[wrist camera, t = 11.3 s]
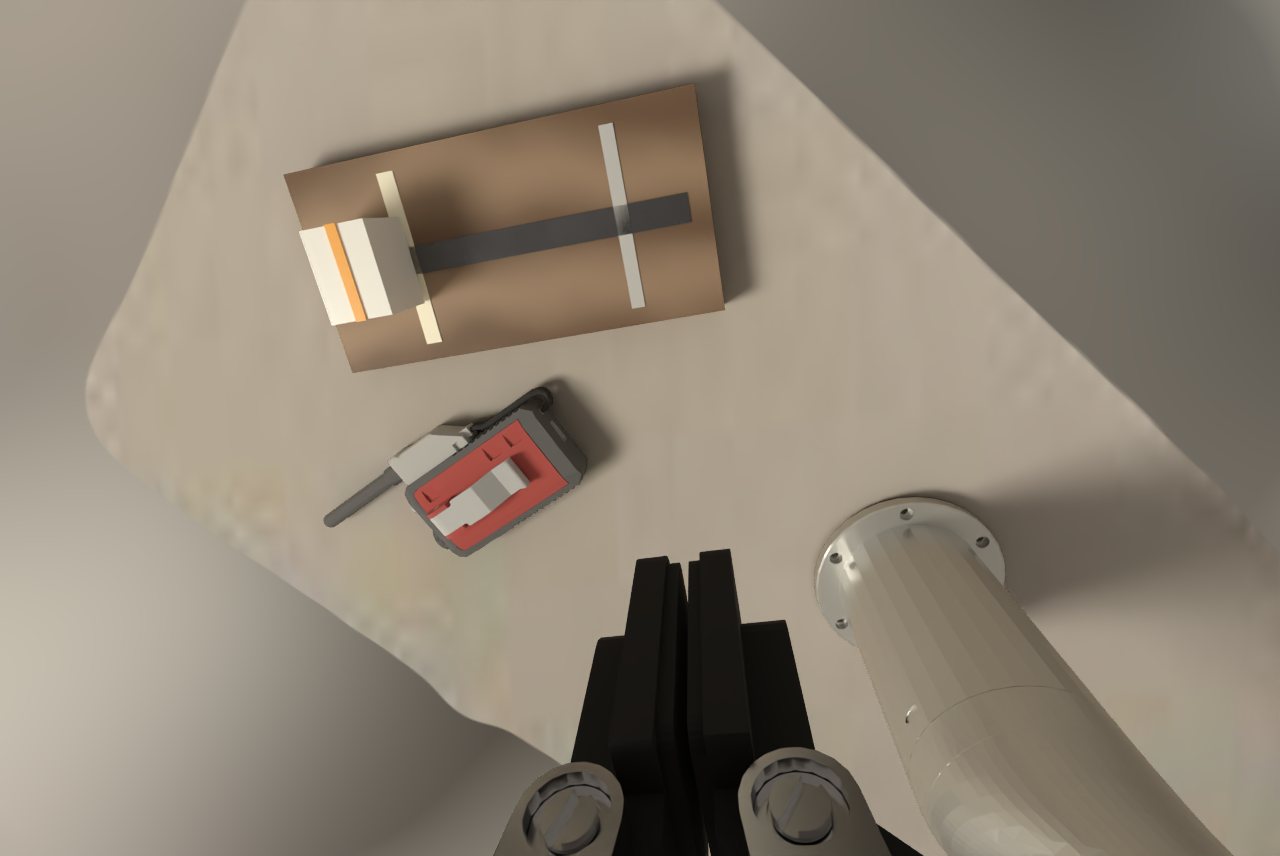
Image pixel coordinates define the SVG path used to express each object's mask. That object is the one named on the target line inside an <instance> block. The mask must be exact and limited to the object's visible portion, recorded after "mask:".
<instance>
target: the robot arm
mask: <svg viewBox="0 0 1280 856" xmlns="http://www.w3.org/2000/svg"><path fill="white" fill-rule="evenodd" d="M904 509H905V510H904ZM902 510H904V511H902ZM834 553H835V554H834ZM1005 576H1006V571H1005V562H1004V557H1003V554H1002V552H1001V549H1000V546H999V544H998V543H997V541H996V540H995V538H994V536H993V535H992V533H991V532H990V531H989V530H988V529H987V528H986V527H985V526H984V524H983V523H982V522H981V521H980V520H979V519H977V518H976V517H975V516H973V515H972V514H971V513H969V512H968V511H967V510H965V509H962V508H960V507H958V506H956V505H954V504H952V503H949V502H945V501H941V500H938V499H934V498H922V497H909V498H897V499H893V500H889V501H885V502H881V503H878V504H875V505H873V506H871V507H868V508H866V509H864V510H862V511H860V512H858V513H857V514H855V515H854V516H852V517H851V518H849V519H847V520H846V521H845V522H844V523H843V524H842V525H841V526H840V527H839V528H838V529H836V530H835V531H834V533H833V534H832V535H831V537H830V538H829V539H828V541H827V542H826V543H825V545H824V547H823V549H822V551H821V553H820V555H819V557H818V560H817V564H816V568H815V573H814V588H815V592H816V597H817V601H818V604H819V606H820V609H821V612H822V614H823V616H824V618H825V619H826V621H827V622H828V624H829V626H830V627H831V628H832V629H833V630H834V631H835V632H836V633H837V634H838V635H839V636H840V637H841V638H843V639H844V640H846V641H847V642H848V643H850V644H851V645H853V646H855V647H857V648H859V651H860V653H861V656H862V659H863V661H864V664H865V667H866V669H867V672H868V674H869V677H870V680H871V682H872V685H873V688H874V690H875V693H876V696H877V698H878V701H879V704H880V706H881V709H882V712H883V714H884V717H885V719H886V722H887V725H888V727H889V730H890V733H891V735H892V738H893V741H894V743H895V746H896V749H897V751H898V754H899V757H900V759H901V762H902V765H903V767H904V770H905V772H906V775H907V778H908V780H909V783H910V786H911V788H912V790H913V793H914V796H915V798H916V801H917V803H918V806H919V809H920V811H921V813H922V815H923V818H924V820H925V822H926V824H927V826H928V828H929V830H930V831H931V833H932V834H933V836H934V837H935V839H936V841H937V842H938V844H939V845H940V846H941V847H942V849H943V850H944V851H945V852H946V853H947V855H948V856H1233V855H1232V853H1231V852H1230V851H1229V850H1228V849H1227V848H1226V847H1225V846H1224V845H1223V844H1222V843H1221V842H1220V841H1219V840H1218V839H1217V838H1216V837H1215V836H1214V835H1213V834H1212V833H1211V832H1210V831H1209V830H1208V829H1207V828H1206V827H1205V826H1204V824H1203V823H1202V822H1201V821H1200V820H1199V819H1198V818H1197V817H1196V816H1195V814H1194V813H1193V812H1192V811H1191V810H1190V809H1189V808H1188V806H1187V805H1186V804H1185V803H1184V802H1183V801H1182V800H1181V798H1180V797H1179V796H1178V795H1177V794H1176V793H1175V792H1174V791H1173V789H1172V788H1171V787H1170V786H1169V785H1168V784H1167V783H1166V781H1165V780H1164V779H1163V778H1162V777H1161V776H1160V775H1159V773H1158V772H1157V771H1156V770H1155V769H1154V768H1153V767H1152V765H1151V764H1150V763H1149V762H1148V761H1147V760H1146V758H1145V757H1144V756H1143V755H1142V754H1141V752H1140V751H1139V750H1138V749H1137V748H1136V746H1135V745H1134V744H1133V743H1132V742H1131V740H1130V739H1129V738H1128V737H1127V736H1126V734H1125V733H1124V732H1123V731H1122V730H1121V728H1120V727H1119V726H1118V725H1117V723H1116V722H1115V721H1114V720H1113V719H1112V718H1111V717H1110V715H1109V714H1108V713H1107V712H1106V710H1105V709H1104V708H1103V707H1102V705H1101V704H1100V703H1099V702H1098V700H1097V699H1096V698H1095V697H1094V696H1093V694H1092V693H1091V692H1090V691H1089V689H1088V688H1087V687H1086V686H1085V685H1084V683H1083V682H1082V681H1081V680H1080V679H1079V677H1078V676H1077V675H1076V674H1075V673H1074V671H1073V670H1072V669H1071V668H1070V667H1069V665H1068V664H1067V663H1066V662H1065V660H1064V659H1063V658H1062V657H1061V656H1060V654H1059V653H1058V652H1057V651H1056V650H1055V648H1054V647H1053V646H1052V645H1051V644H1050V642H1049V641H1048V640H1047V639H1046V637H1045V636H1044V635H1043V634H1042V633H1041V631H1040V630H1039V629H1038V628H1037V627H1036V625H1035V624H1034V623H1033V622H1032V621H1031V619H1030V618H1029V617H1028V616H1027V614H1026V613H1025V612H1024V611H1023V610H1022V608H1021V607H1020V606H1019V605H1018V604H1017V602H1016V601H1015V600H1014V599H1013V598H1012V596H1011V595H1010V594H1009V593H1008V591H1007V590H1006V589H1005V588H1004V583H1005ZM708 843H709V848H710V853H711V856H923V855H922V854H920V853H919V852H917V851H916V850H914V849H913V848H911V847H910V846H908V845H907V844H906V843H904V842H903V841H901V840H900V839H898V838H897V837H895V836H894V835H892V834H891V833H890V832H888V831H887V830H885V829H884V828H882V827H881V826H879V825H878V824H876V822H875V820H874V817H873V815H872V813H871V811H870V809H869V807H868V804H867V802H866V800H865V798H864V796H863V794H862V792H861V789H860V787H859V786H858V784H857V783H856V781H855V780H854V778H853V777H852V775H851V773H850V772H849V771H848V770H847V769H846V768H845V767H844V766H842V765H841V764H840V763H839V762H838V761H837V760H835V759H834V758H832V757H830V756H828V755H826V754H823V753H821V752H819V751H817V750H815V747H814V743H813V738H812V734H811V730H810V725H809V721H808V716H807V712H806V708H805V703H804V699H803V694H802V690H801V685H800V681H799V677H798V672H797V668H796V663H795V659H794V654H793V650H792V646H791V641H790V637H789V632H788V628H787V624H786V621H785V620H778V621H768V622H757V623H747V624H741V617H740V611H739V604H738V598H737V591H736V584H735V578H734V571H733V565H732V558H731V552H730V549H723V550H714V551H705V552H700V560H699V561H690V562H689V578H688V601H687V595H686V590H685V585H684V579H683V574H682V569H681V565H680V563H672V564H670V562H669V559H668V557H667V556H662V557H653V558H644V559H638V560H637V561H636V567H635V573H634V579H633V585H632V592H631V598H630V604H629V611H628V617H627V623H626V629H625V635H624V636H613V637H603V638H600V639H599V640H598V642H597V645H596V649H595V654H594V658H593V663H592V668H591V672H590V677H589V681H588V686H587V690H586V695H585V699H584V704H583V708H582V713H581V718H580V722H579V727H578V731H577V736H576V740H575V745H574V749H573V754H572V759H571V763H567V764H564V765H561V766H559V767H556V768H553V769H551V770H549V771H548V772H546V773H545V774H543V775H542V776H540V777H538V778H537V779H536V780H535V781H534V782H533V783H532V784H531V785H530V786H529V787H528V788H527V789H526V790H525V791H524V793H523V794H522V796H521V797H520V799H519V801H518V802H517V804H516V806H515V808H514V810H513V812H512V815H511V817H510V819H509V821H508V823H507V825H506V828H505V830H504V832H503V834H502V837H501V839H500V841H499V844H498V846H497V848H496V850H495V852H494V855H493V856H708Z"/></svg>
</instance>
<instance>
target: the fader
mask: <svg viewBox="0 0 1280 856" xmlns="http://www.w3.org/2000/svg"><path fill="white" fill-rule="evenodd" d="M299 233H300V236H301V239H302V242H303V244H304V247H305V250H306V253H307V256H308V259H309V262H310V264H311V267H312V270H313V273H314V276H315V279H316V281H317V284H318V287H319V290H320V293H321V296H322V299H323V301H324V304H325V307H326V310H327V313H328V316H329V319H330V321H331V324H332V325H338V324H343V323H349V322H354V321H356V322H360V321H366V320H367V319H371V318H376V317H382V316H387V315H393V314H395V313H398V312H401V311H404V310H407V309H410V308H412V307H415V306H418V305H421V304H424V303H425V302H424V299H423V295H422V292H421V288H420V285H419V282H418V278H417V275H416V272H415V268H414V265H413V261H412V258H411V255H410V251H409V248H408V245H407V241H406V238H405V234H404V231H403V228H402V224H401V221H400V218H399V217H385V218H361V219H356V220H351V221H346V222H341V223H337V224H335V223H330V224H326V225H324V226H322V227H317V228H312V229H308V230H303V231H299Z"/></svg>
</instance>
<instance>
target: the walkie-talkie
mask: <svg viewBox="0 0 1280 856" xmlns="http://www.w3.org/2000/svg"><path fill="white" fill-rule="evenodd" d="M538 394H542V395H543V396H544V397H545V399H546V403H545V404H544V403H543V402H542V400H538V399H531V397H533V396H535V395H538ZM552 403H553V397H552V395H551V392H550V391H549V390H548V389H547V388H544V387H538V388H535V389H532V390H530V391H529V392H528V393H526V394H525V395H523V396H522V397H521V398H519V399H518V400H516V401H515V402H514V403H512V404H511V405H509V406H508V407H507V408H505V409H504V410H502V411H501V412H500V413H498V414H497V415H495V416H494V417H492V418H491V419H489V420H488V421H486V422H480V423H476V424H473V423H472V422H471V423H470V424H468V425H467V426H451V425H440V426H438V427H436V428H435V429H433V430H432V431H431V432H429V433H428V434H426V435H425V436H424V437H422V438H421V439H419V440H418V441H417V442H415V443H414V444H413V445H411V446H410V447H405V448H403V449H402V450H401V451H400V452H398V453H397V454H396V455H395V456H393V457H392V458H391V459H390V460H388V464H389V465H390V467H389V468H387V469H386V470H385V471H384V474H383V475H381V476H380V477H378V478H377V479H376V480H374V481H373V482H372V483H370V484H369V485H367V486H366V487H365V488H363V489H362V490H361V491H359V492H358V493H356V494H355V495H354V496H352V497H351V498H349V499H348V500H347V501H345V502H344V503H343V504H341V505H340V506H338V507H337V508H336V509H334V510H333V511H332V512H330V513H329V514H327V515H326V516H325V517H324V524H325V525H326V526H327V527H330V528H331V527H335V526H336V525H338V524H339V523H340V522H342V521H343V520H345V519H346V518H347V517H349V516H350V515H352V514H353V513H354V512H356V511H357V510H359V509H360V508H361V507H363V506H364V505H365V504H367V503H368V502H370V501H371V500H372V499H374V498H375V497H377V496H378V495H379V494H381V493H382V492H384V491H385V490H386V489H388V488H389V487H390V486H392V485H397V484H399V483H400V482H401V481H404V482H405V483H406V484H407V485H408V487H407V488H406V491H405V496H406V498H407V500H408V502H409V504H410V505H411V509H412V510H413V512H415V513H418V514H419V515H420V516H421V518H422V519H423V520H424V521H425V522H426V523H427V524H428V525H429V527H430V528H431V529H432V530H433V535H434V538H435V540H436V542H437V543H438V544H439V545H440V546H441V547H443V548H446V549H450V550H451V551H452V552H453V553H455V554H456V555H458V556H460V557H467V556H469V555H471V554H472V553H474V552H475V551H477V550H479V549H480V548H482V547H484V546H485V545H486V544H488V543H489V542H491V541H492V540H494V539H496V538H497V537H499V536H501V535H502V534H504V533H505V532H507V531H508V530H510V529H511V528H513V526H514V525H515V524H519V522H520V521H521V520H522V521H524V520H525V518H526V517H530V516H531V515H532V513H536V512H537V511H538V509H542V508H543V507H544V506H545V505H548V504H549V503H550V502H551V501H555V500H556V498H557V497H561V496H562V494H563V493H567V492H568V491H569V490H570V489H573V488H574V487H575V486H576V485H580V482H581V480H582V478H583V475H584V473H585V470H586V465H587V458H586V456H585V455H584V454H583V453H582V451H581V450H580V449H579V447H578V446H577V445H576V444H575V442H574V441H573V440H572V439H571V437H570V436H569V435H568V433H567V432H566V431H565V430H564V428H563V427H562V426H561V425H560V423H559V422H558V421H557V419H556V418H555V417H554V416H553V414H552V413H551V412H550V411H549V408H550V406H551V405H552ZM481 429H484V430H483V431H481V432H480V433H479V434H478V432H477V430H481ZM477 434H478V435H477ZM476 435H477V436H476Z"/></svg>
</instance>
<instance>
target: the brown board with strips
mask: <svg viewBox="0 0 1280 856" xmlns="http://www.w3.org/2000/svg"><path fill="white" fill-rule="evenodd" d="M284 178H285V180H286V183H287V186H288V189H289V192H290V195H291V198H292V201H293V203H294V206H295V209H296V212H297V215H298V218H299V221H300V223H301V226H302V229H303V230H308V229H312V228H317V227H322V226H324V225H326V224H330V223H335V224H337V223H341V222H346V221H351V220H356V219H361V218H385V217H399V218H400V221H401V224H402V228H403V231H404V234H405V238H406V241H407V245H408V248H409V251H410V255H411V258H412V261H413V265H414V268H415V272H416V275H417V278H418V282H419V285H420V288H421V292H422V295H423V299H424V302H425V303H424V304H421V305H418V306H415V307H412V308H410V309H407V310H404V311H401V312H398V313H395V314H393V315H387V316H382V317H376V318H371V319H367V320H366V321H360V322H356V321H354V322H349V323H343V324H338V325H336V327H337V330H338V333H339V335H340V338H341V341H342V344H343V347H344V350H345V353H346V355H347V358H348V361H349V364H350V367H351V370H352V373H355V372H361V371H367V370H373V369H379V368H385V367H391V366H397V365H403V364H409V363H414V362H420V361H426V360H432V359H438V358H444V357H450V356H456V355H462V354H468V353H474V352H479V351H485V350H491V349H497V348H503V347H509V346H515V345H521V344H527V343H533V342H539V341H544V340H550V339H556V338H562V337H568V336H574V335H580V334H586V333H592V332H598V331H604V330H609V329H615V328H621V327H627V326H633V325H639V324H645V323H651V322H657V321H663V320H669V319H674V318H680V317H686V316H692V315H698V314H704V313H710V312H716V311H722V310H725V307H724V299H723V292H722V285H721V277H720V270H719V263H718V255H717V248H716V240H715V233H714V226H713V218H712V211H711V204H710V196H709V189H708V181H707V174H706V167H705V159H704V152H703V145H702V137H701V130H700V122H699V115H698V108H697V100H696V93H695V86H694V83H693V84H689V85H684V86H680V87H675V88H671V89H666V90H662V91H657V92H653V93H648V94H644V95H639V96H635V97H630V98H626V99H621V100H617V101H612V102H608V103H603V104H599V105H594V106H590V107H585V108H581V109H576V110H572V111H567V112H563V113H558V114H554V115H549V116H545V117H540V118H536V119H531V120H527V121H522V122H518V123H514V124H509V125H505V126H500V127H496V128H491V129H487V130H482V131H478V132H473V133H469V134H464V135H460V136H455V137H451V138H446V139H442V140H437V141H433V142H428V143H424V144H419V145H415V146H410V147H406V148H401V149H397V150H392V151H388V152H383V153H379V154H374V155H370V156H365V157H361V158H356V159H352V160H347V161H343V162H338V163H334V164H329V165H325V166H320V167H316V168H311V169H307V170H302V171H298V172H293V173H289V174H284Z"/></svg>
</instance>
